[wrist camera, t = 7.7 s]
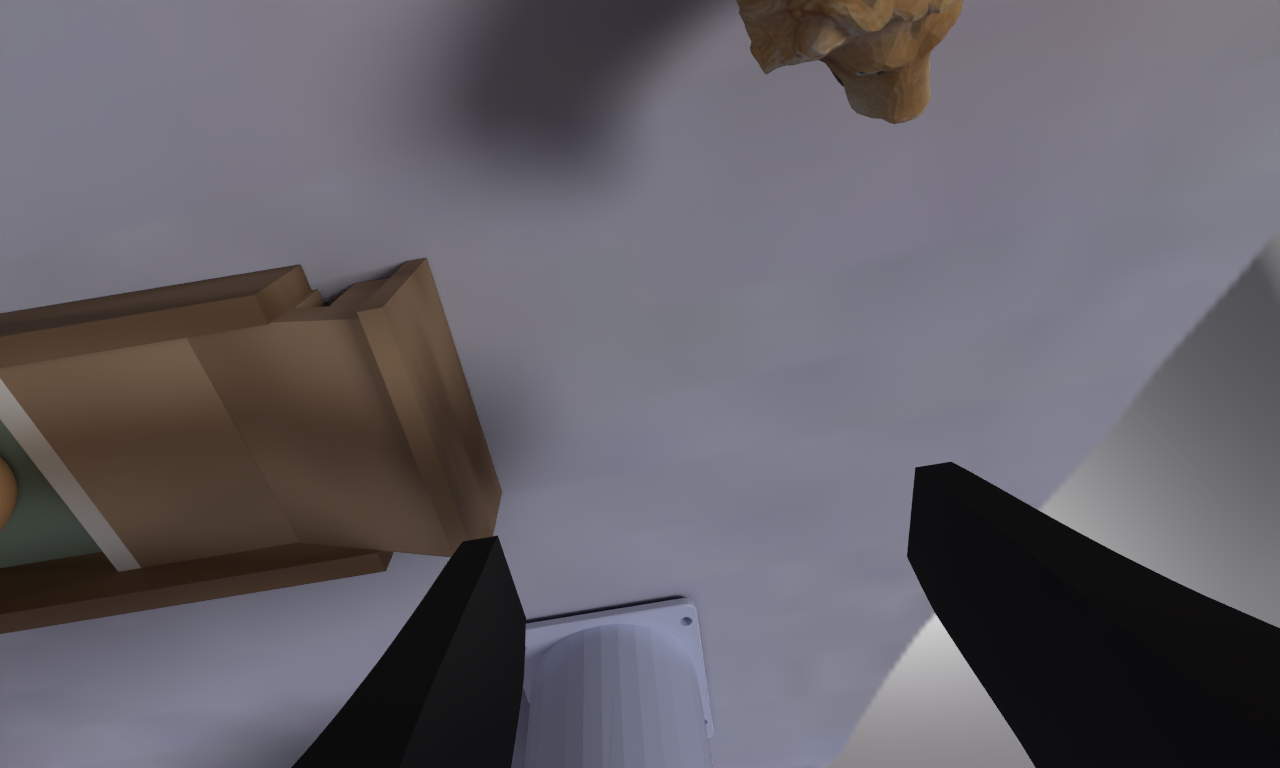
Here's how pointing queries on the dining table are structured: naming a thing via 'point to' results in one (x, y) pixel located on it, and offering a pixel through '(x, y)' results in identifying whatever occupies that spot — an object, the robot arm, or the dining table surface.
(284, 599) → the dining table surface
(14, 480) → the ball
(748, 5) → the lion figurine
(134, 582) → the wooden shadow box
